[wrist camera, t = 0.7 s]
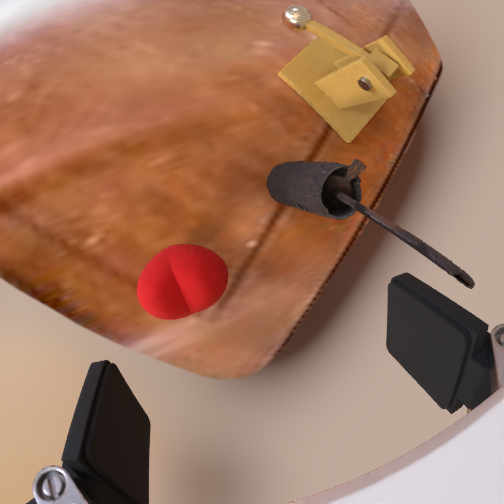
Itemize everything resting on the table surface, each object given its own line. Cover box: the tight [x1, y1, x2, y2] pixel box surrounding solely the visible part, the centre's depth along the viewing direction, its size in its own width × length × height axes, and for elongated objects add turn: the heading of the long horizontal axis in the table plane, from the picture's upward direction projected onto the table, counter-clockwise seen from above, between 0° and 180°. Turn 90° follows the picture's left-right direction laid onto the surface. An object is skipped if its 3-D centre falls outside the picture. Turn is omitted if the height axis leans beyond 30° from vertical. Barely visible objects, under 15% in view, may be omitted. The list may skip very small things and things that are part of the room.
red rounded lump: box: [137, 244, 228, 320], centre depth 31 cm, size 9×7×10 cm
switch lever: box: [282, 5, 399, 81], centre depth 23 cm, size 13×3×3 cm, turn 49°
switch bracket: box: [277, 35, 415, 143], centre depth 27 cm, size 12×9×12 cm
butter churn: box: [267, 159, 475, 289], centre depth 22 cm, size 9×10×28 cm
